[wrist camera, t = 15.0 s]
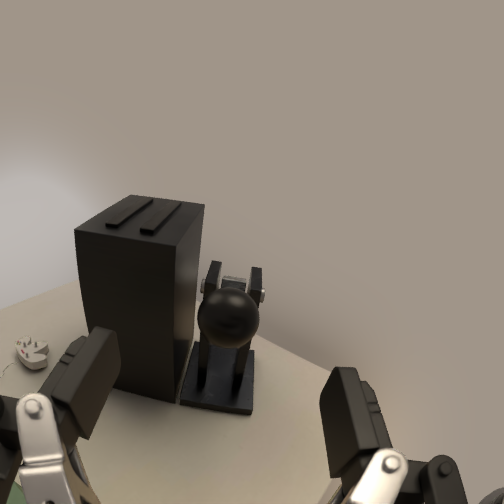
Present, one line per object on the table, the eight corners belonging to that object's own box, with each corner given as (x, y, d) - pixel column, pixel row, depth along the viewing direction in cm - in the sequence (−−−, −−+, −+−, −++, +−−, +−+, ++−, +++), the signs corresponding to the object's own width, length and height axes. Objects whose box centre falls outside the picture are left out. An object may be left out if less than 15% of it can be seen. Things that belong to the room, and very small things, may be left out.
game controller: (59, 353, 29) (54, 339, 28) (12, 413, 19) (3, 399, 18) (31, 339, 30) (26, 324, 29) (-15, 390, 19) (-24, 376, 18)
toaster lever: (255, 362, 15) (267, 298, 15) (189, 351, 15) (197, 287, 15) (248, 308, 29) (253, 274, 29) (212, 303, 29) (217, 268, 29)
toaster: (175, 403, 28) (176, 241, 20) (101, 384, 28) (73, 225, 20) (193, 337, 39) (205, 201, 31) (133, 324, 38) (130, 191, 31)
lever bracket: (251, 415, 28) (281, 311, 22) (179, 404, 28) (180, 296, 22) (252, 356, 37) (275, 258, 32) (194, 347, 37) (202, 246, 31)
